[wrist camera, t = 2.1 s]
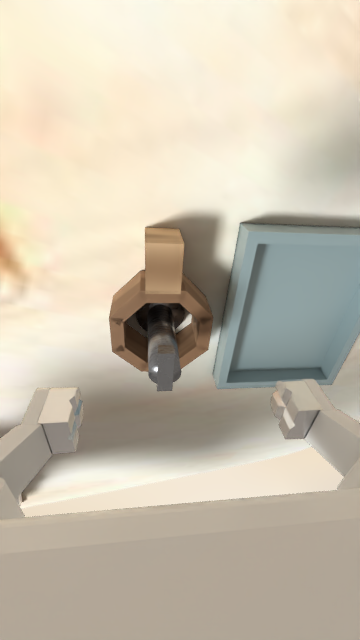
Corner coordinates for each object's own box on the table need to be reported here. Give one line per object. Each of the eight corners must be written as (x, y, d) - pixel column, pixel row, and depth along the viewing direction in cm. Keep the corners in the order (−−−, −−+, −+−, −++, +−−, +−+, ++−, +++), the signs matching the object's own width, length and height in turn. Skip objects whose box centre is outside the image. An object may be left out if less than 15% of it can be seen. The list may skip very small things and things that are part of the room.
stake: (181, 330, 31) (193, 397, 23) (136, 331, 31) (133, 400, 23) (184, 291, 28) (200, 352, 21) (135, 290, 28) (131, 354, 20)
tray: (321, 370, 38) (331, 384, 35) (212, 374, 36) (216, 389, 34) (390, 228, 27) (410, 236, 25) (240, 222, 25) (248, 231, 23)
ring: (198, 345, 33) (205, 369, 29) (117, 346, 32) (114, 372, 28) (214, 229, 25) (224, 245, 22) (107, 226, 24) (101, 241, 21)
